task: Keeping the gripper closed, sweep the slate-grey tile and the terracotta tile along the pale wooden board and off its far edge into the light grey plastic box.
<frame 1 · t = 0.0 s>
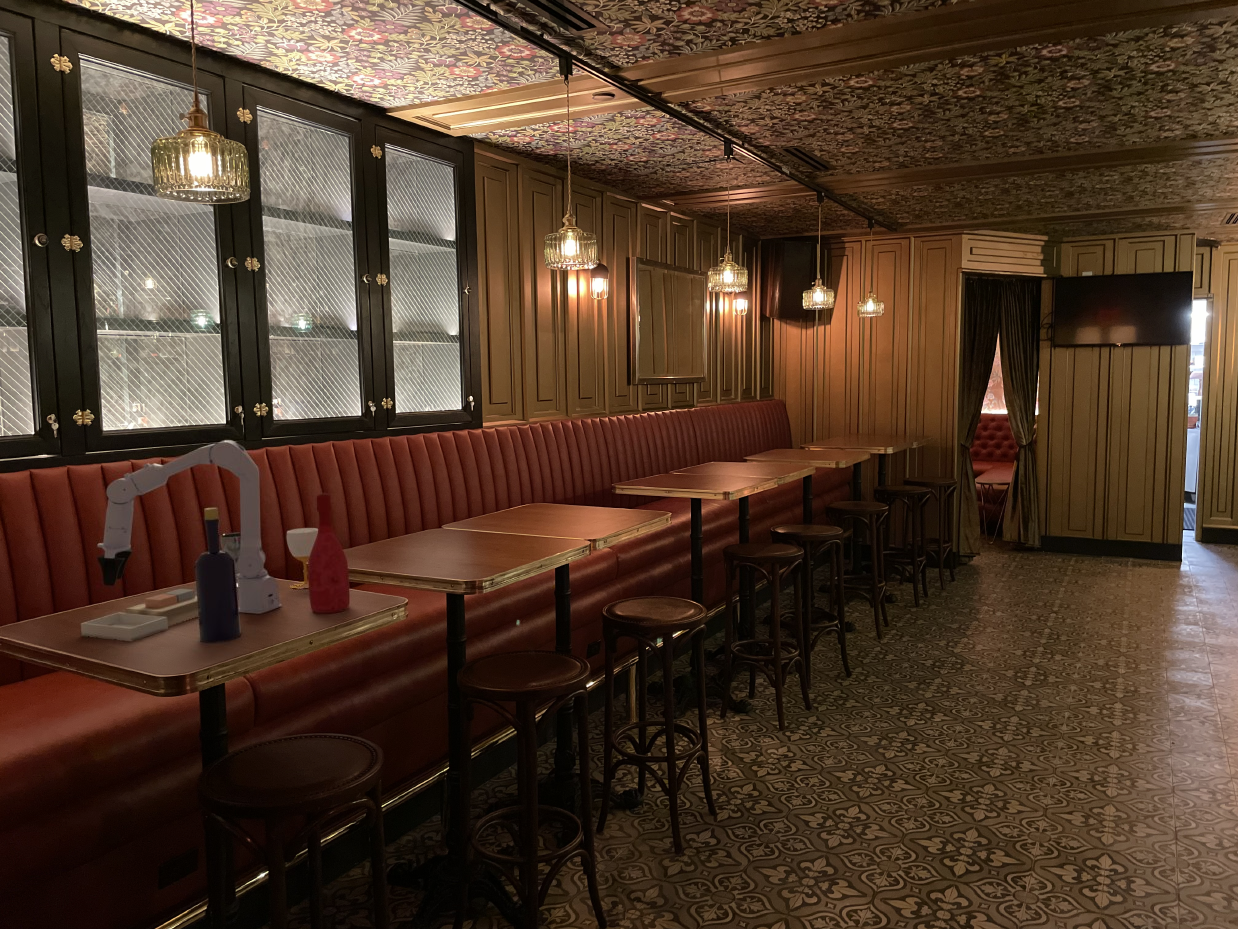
hand: (112, 581, 214), 11 cm above the table, tool pointing down, fingers open, 7 cm apart
wine bottle: (330, 610, 222), on the table
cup: (306, 586, 250), on the table
wine glass: (239, 586, 252), on the table
slate tile: (179, 599, 221), point 4 cm above the table, touching board
board: (169, 618, 218), on the table
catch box: (125, 632, 207), on the table
bottle: (220, 638, 200), on the table
terracotta tile: (161, 604, 216), point 4 cm above the table, touching board
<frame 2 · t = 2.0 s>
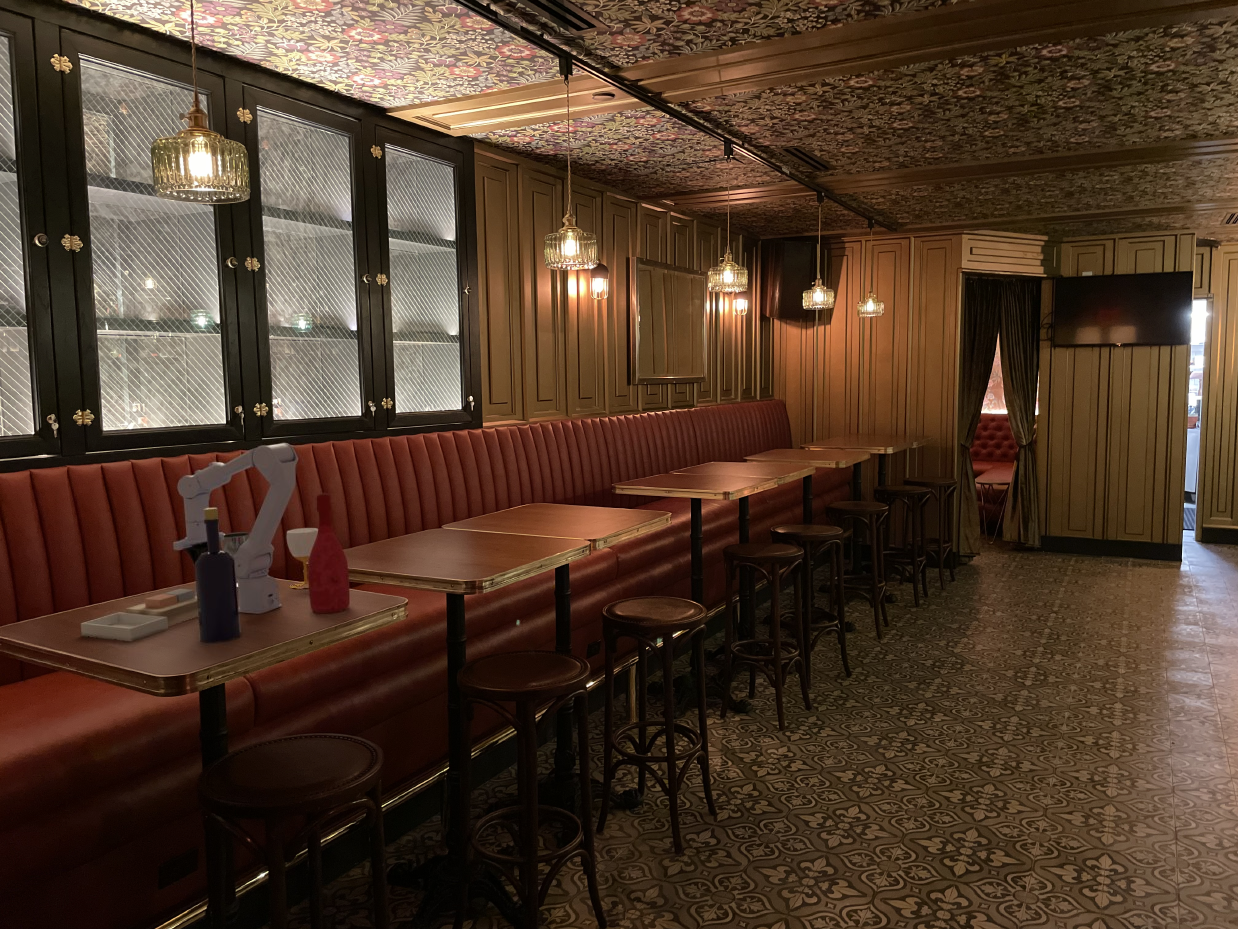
hand: (201, 572, 227), 9 cm above the table, tool pointing down, fingers closed
nothing on the table moved.
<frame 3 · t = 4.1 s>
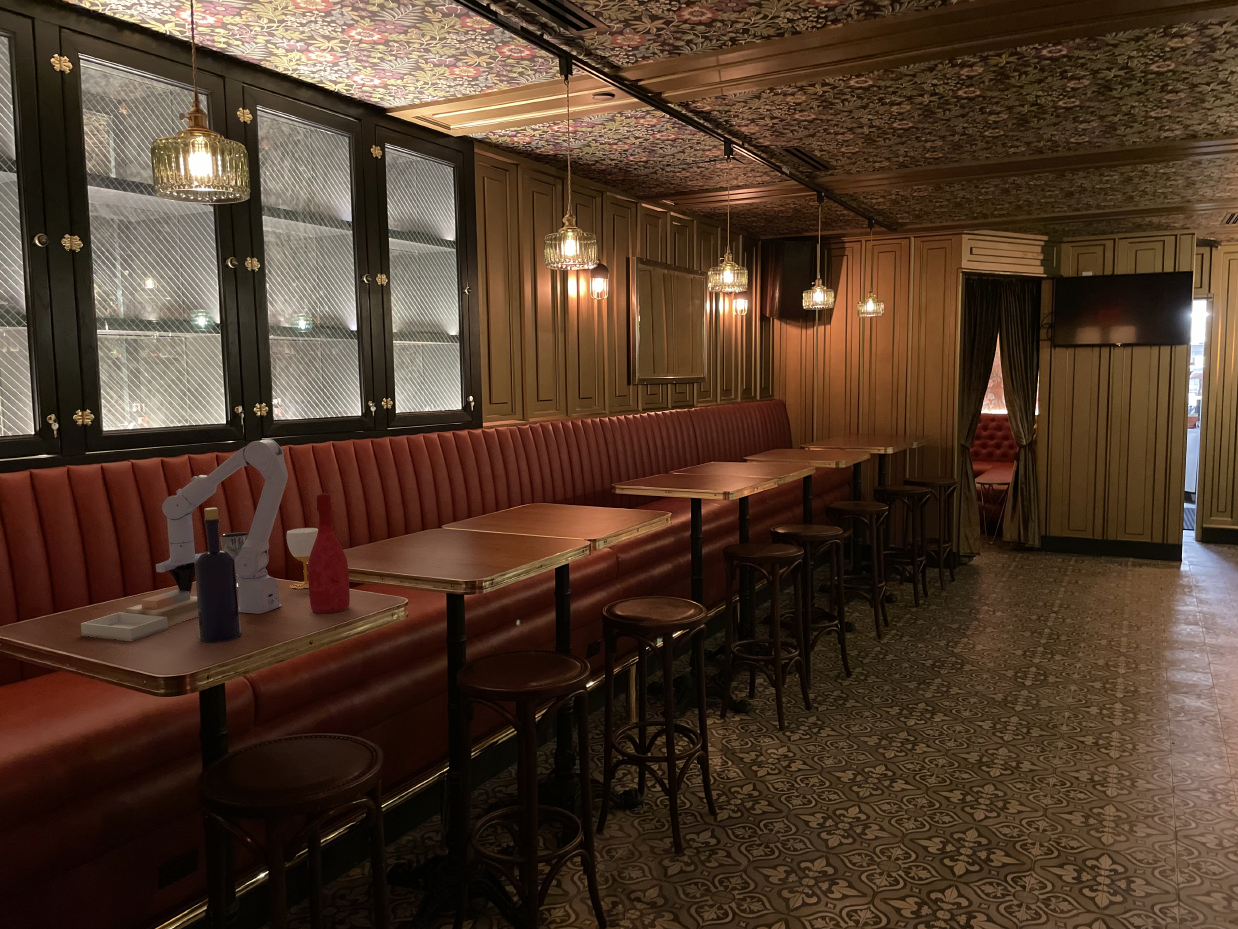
hand: (185, 594, 223), 5 cm above the table, tool pointing down, fingers closed
slate tile: (174, 600, 220), point 4 cm above the table, touching board, gripper, terracotta tile
terracotta tile: (157, 605, 215), point 4 cm above the table, touching board, slate tile
everything else where it was.
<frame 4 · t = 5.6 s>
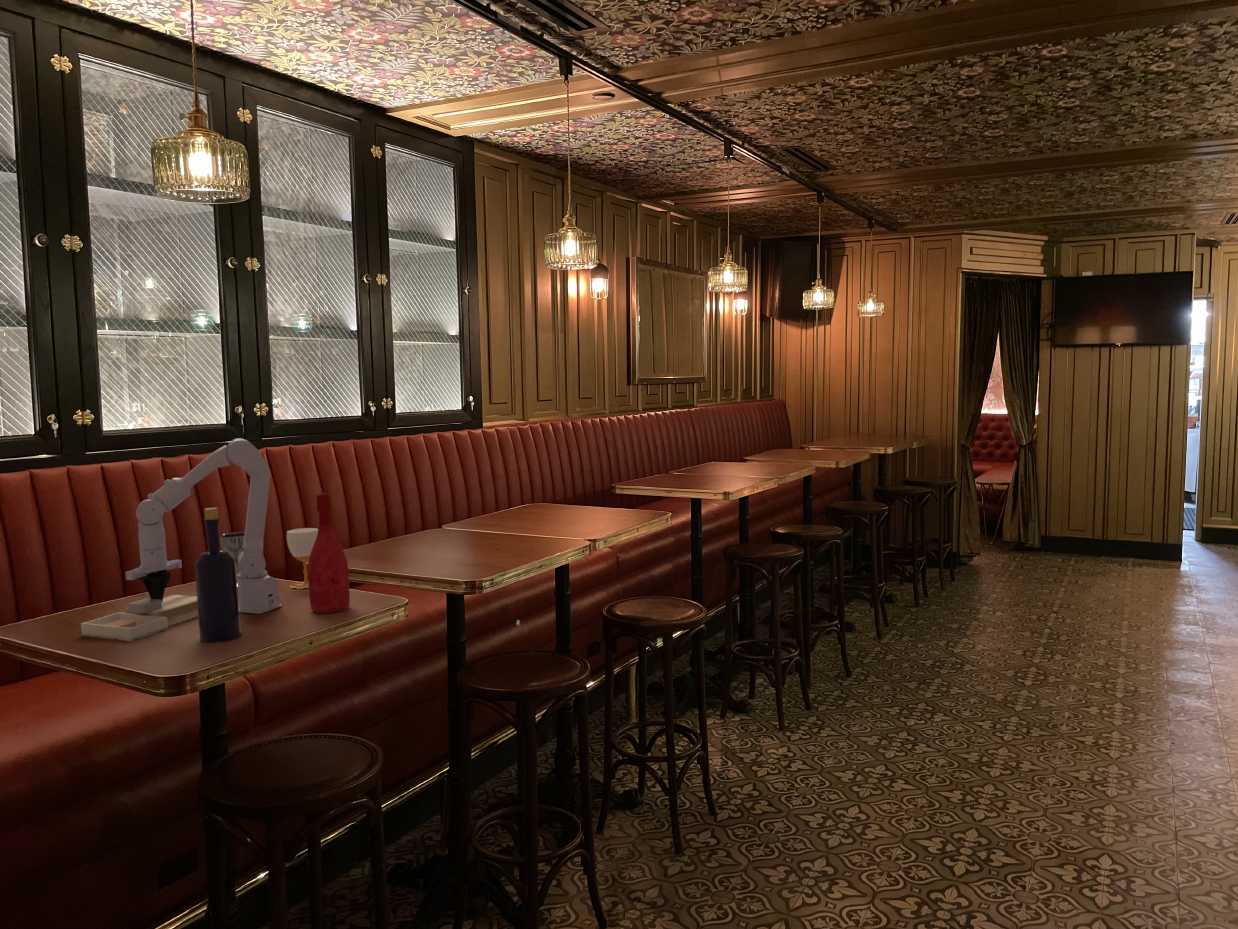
hand: (157, 602, 215), 5 cm above the table, tool pointing down, fingers closed
slate tile: (145, 609, 212), point 4 cm above the table
terracotta tile: (119, 623, 205), point 3 cm above the table, tilted 180°, touching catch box
everything else where it was.
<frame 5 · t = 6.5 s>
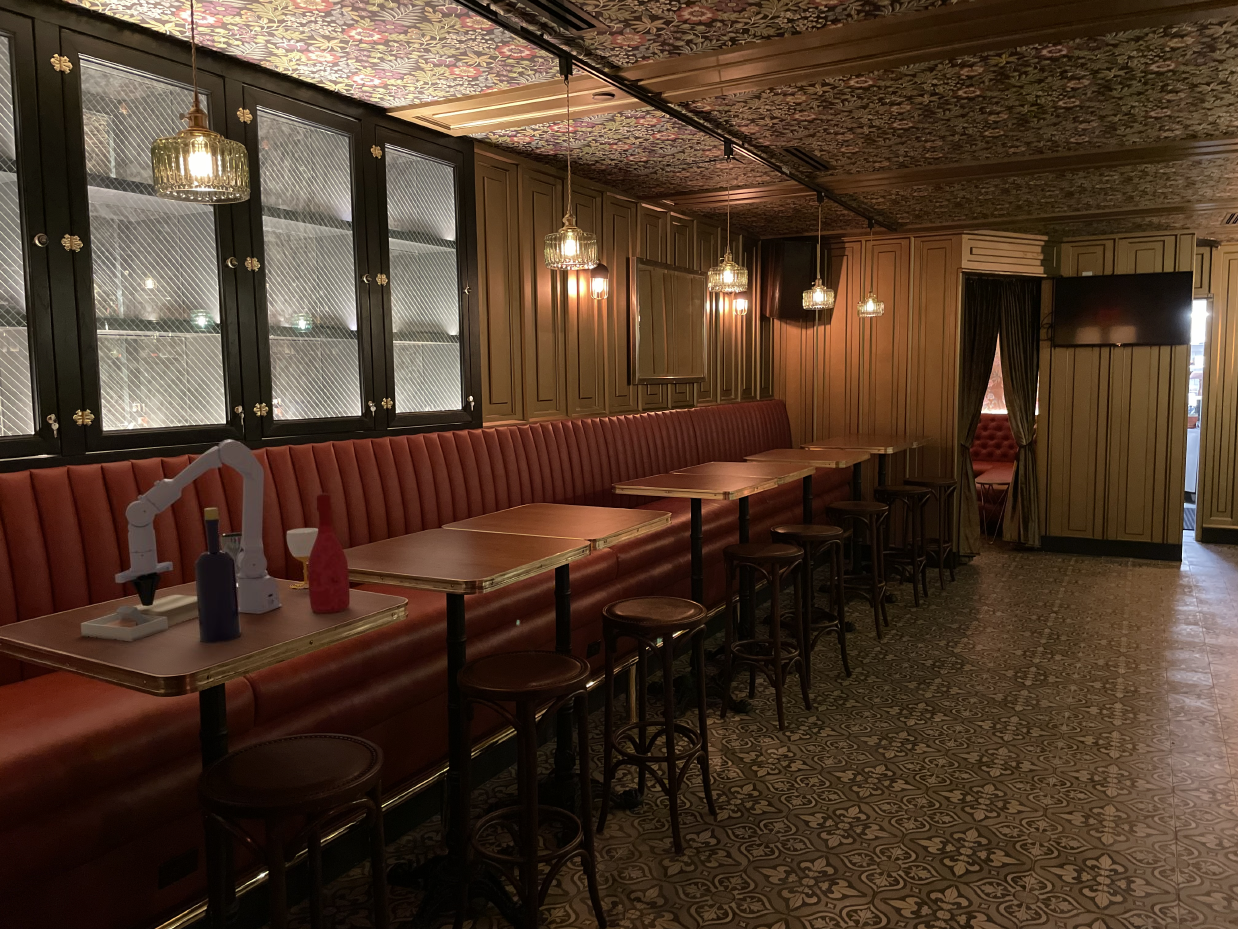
hand: (147, 605, 212), 5 cm above the table, tool pointing down, fingers closed
slate tile: (134, 614, 209), point 4 cm above the table, tilted 119°, touching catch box, terracotta tile
terracotta tile: (118, 623, 205), point 3 cm above the table, tilted 180°, touching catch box, slate tile
everything else where it was.
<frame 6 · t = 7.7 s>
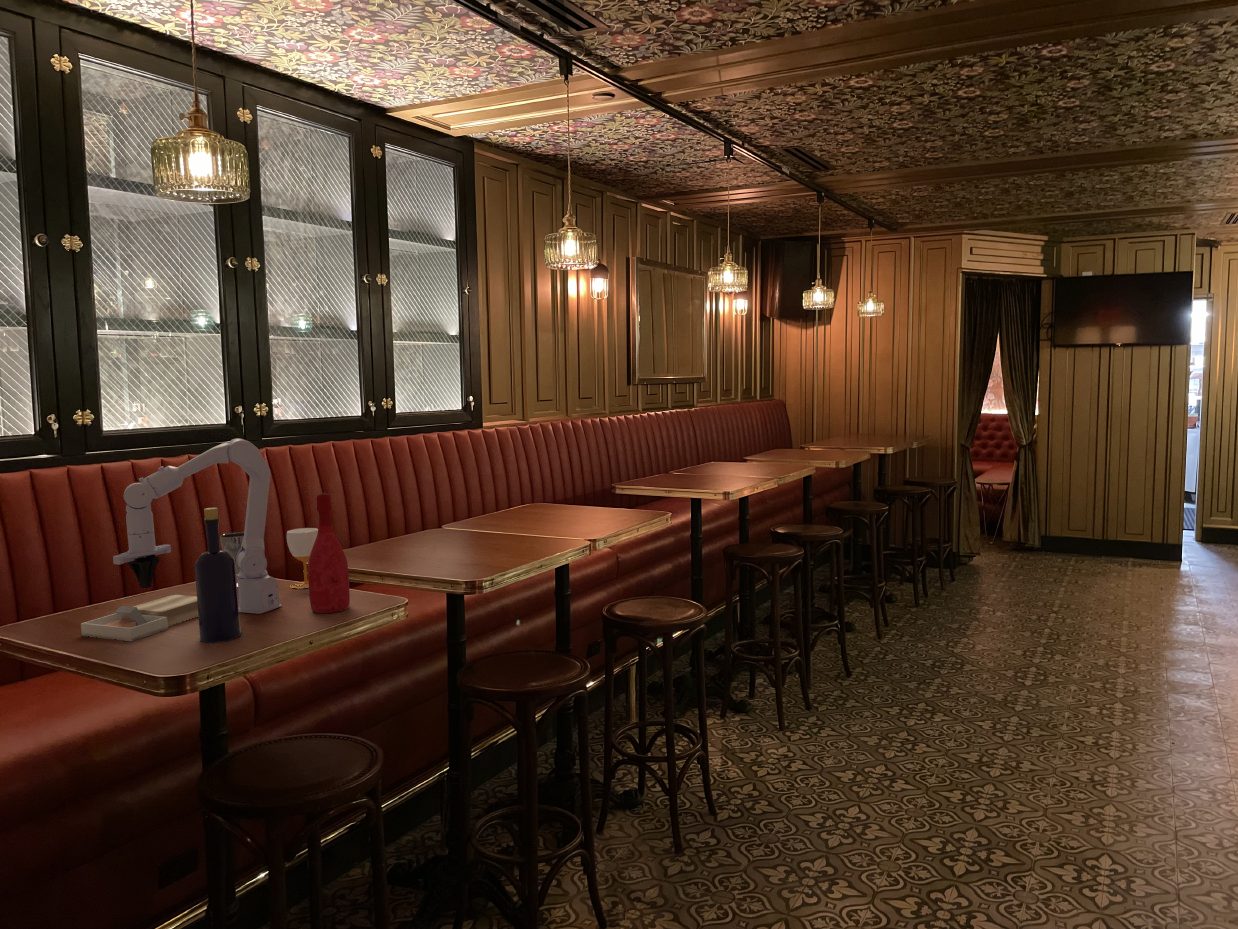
hand: (145, 587, 212), 9 cm above the table, tool pointing down, fingers closed
nothing on the table moved.
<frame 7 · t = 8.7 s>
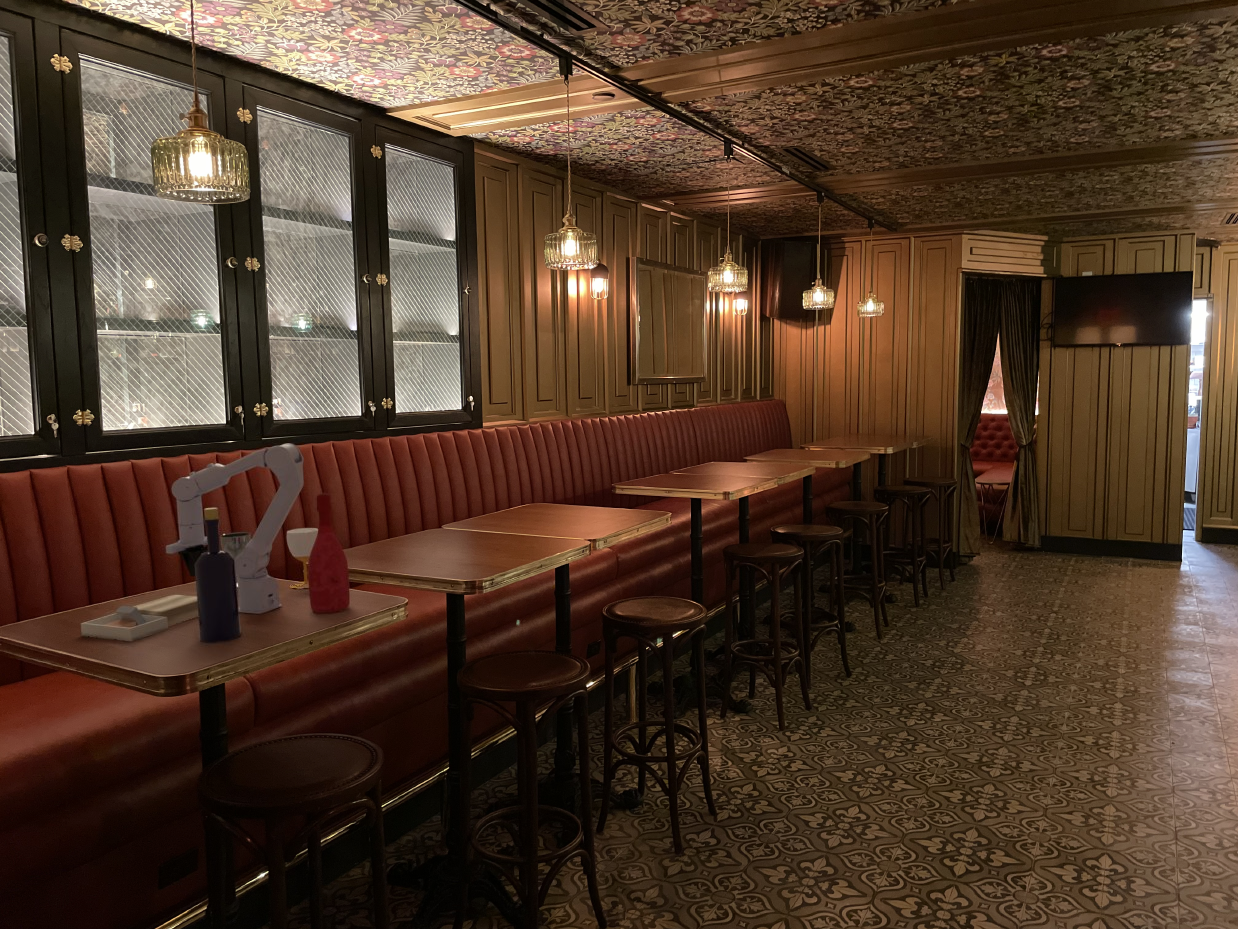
hand: (195, 575, 223), 9 cm above the table, tool pointing down, fingers closed
nothing on the table moved.
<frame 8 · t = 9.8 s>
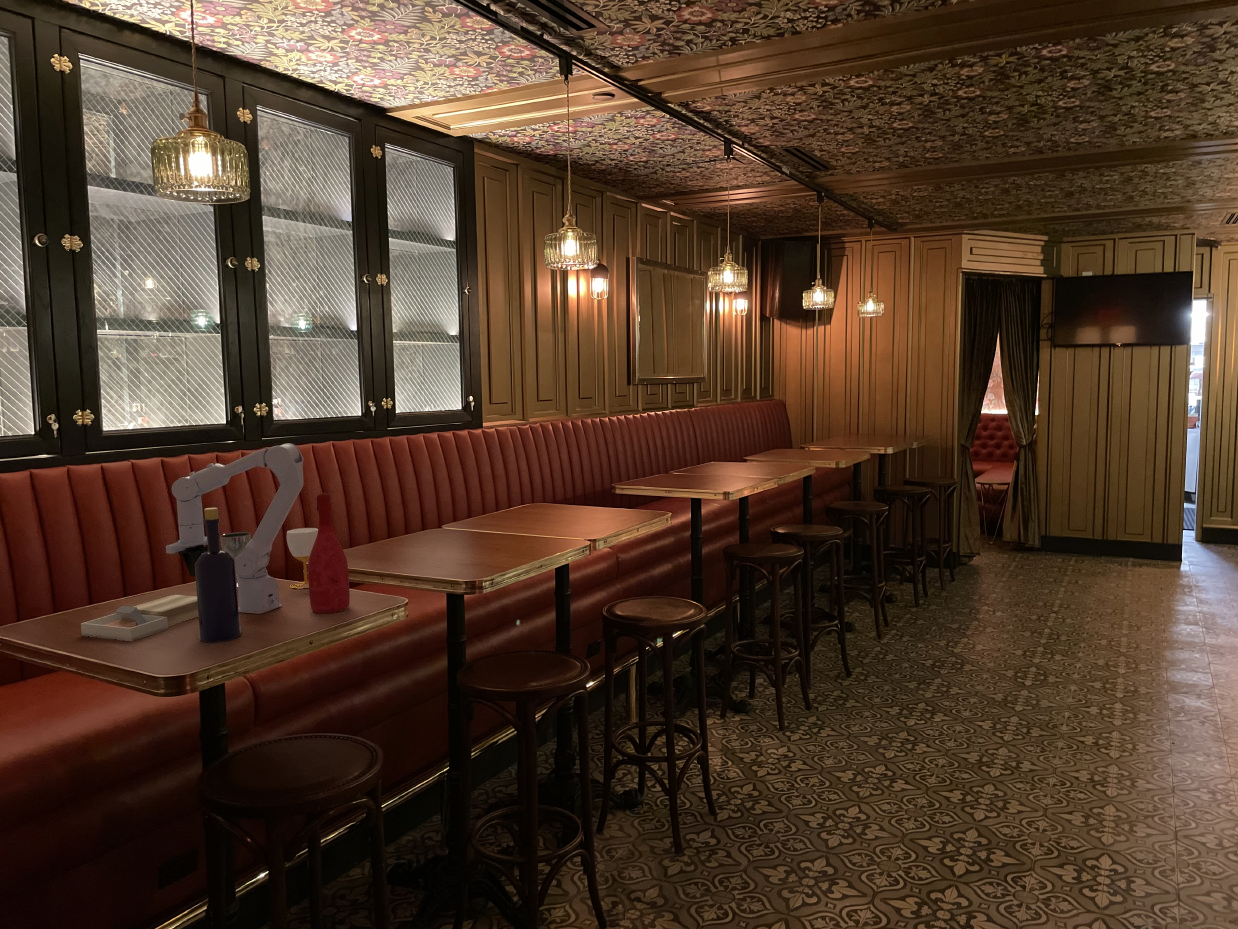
hand: (195, 575, 223), 9 cm above the table, tool pointing down, fingers closed
nothing on the table moved.
at the end: terracotta tile inside the target area on the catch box (1.2 cm from its centre), point 2.6 cm above the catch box's base; slate tile inside the target area on the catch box (3.0 cm from its centre), point 3.8 cm above the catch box's base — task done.
